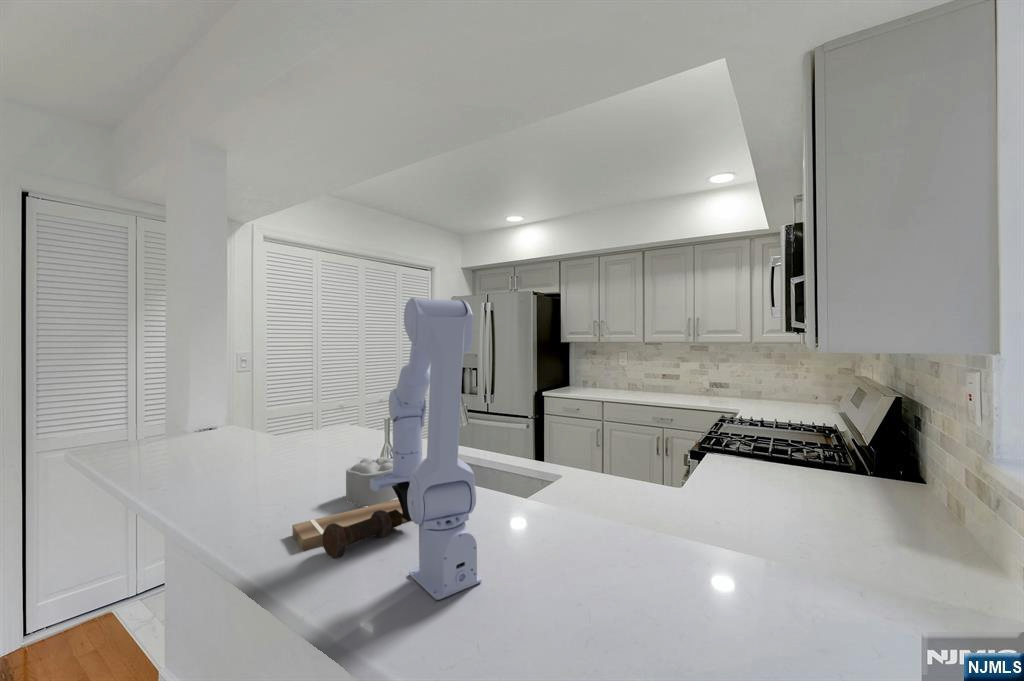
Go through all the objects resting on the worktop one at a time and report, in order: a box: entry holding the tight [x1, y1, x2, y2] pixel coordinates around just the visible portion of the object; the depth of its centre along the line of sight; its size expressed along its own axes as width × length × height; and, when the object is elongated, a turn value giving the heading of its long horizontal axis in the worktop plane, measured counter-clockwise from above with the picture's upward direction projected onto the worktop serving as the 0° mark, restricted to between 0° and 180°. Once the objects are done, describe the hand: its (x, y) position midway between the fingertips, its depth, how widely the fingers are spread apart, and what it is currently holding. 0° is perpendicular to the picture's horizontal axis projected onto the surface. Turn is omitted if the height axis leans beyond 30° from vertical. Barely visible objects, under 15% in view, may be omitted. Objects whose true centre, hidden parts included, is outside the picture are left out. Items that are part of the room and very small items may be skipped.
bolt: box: [322, 509, 404, 559], centre depth 82 cm, size 6×5×15 cm
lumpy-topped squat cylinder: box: [345, 456, 398, 507], centre depth 106 cm, size 10×13×9 cm
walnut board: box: [291, 498, 408, 552], centre depth 89 cm, size 8×24×2 cm, turn 129°
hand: (408, 518), depth 87 cm, fingers closed
